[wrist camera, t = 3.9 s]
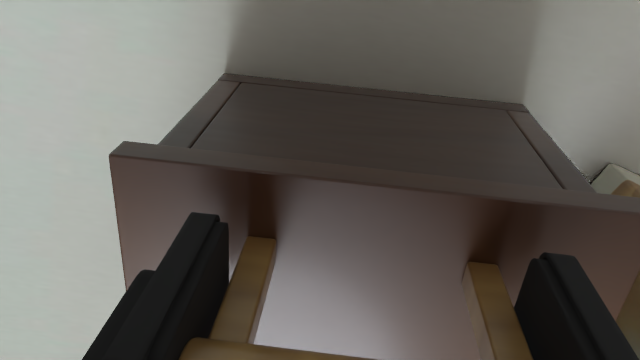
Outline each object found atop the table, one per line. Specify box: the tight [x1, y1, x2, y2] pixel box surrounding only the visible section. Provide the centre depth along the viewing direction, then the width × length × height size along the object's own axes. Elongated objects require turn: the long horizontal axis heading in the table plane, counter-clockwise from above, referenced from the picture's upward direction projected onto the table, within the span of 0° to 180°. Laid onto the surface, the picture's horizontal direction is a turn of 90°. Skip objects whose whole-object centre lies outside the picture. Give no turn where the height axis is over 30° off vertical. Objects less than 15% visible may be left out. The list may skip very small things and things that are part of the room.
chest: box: [158, 74, 597, 193], centre depth 19 cm, size 16×12×9 cm
